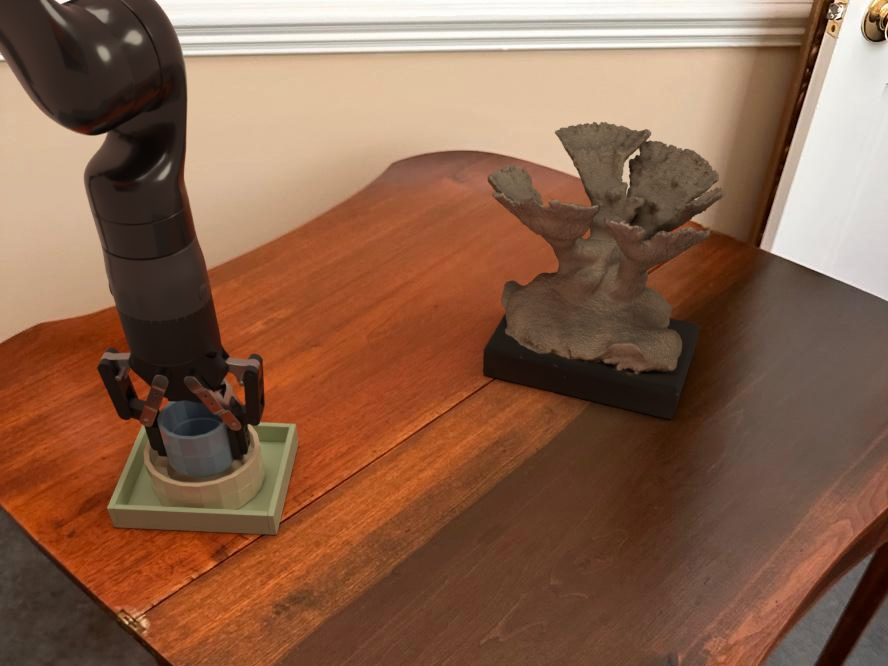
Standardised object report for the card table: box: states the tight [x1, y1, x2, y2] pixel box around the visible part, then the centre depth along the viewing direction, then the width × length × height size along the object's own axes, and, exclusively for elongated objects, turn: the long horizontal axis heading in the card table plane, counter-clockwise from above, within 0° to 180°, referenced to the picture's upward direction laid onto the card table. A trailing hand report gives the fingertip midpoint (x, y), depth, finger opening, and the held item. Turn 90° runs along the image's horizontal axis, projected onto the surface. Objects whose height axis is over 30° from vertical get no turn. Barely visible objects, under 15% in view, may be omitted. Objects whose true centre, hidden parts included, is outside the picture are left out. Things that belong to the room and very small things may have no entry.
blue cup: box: [157, 400, 235, 478], centre depth 81 cm, size 6×6×5 cm
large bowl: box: [144, 424, 265, 510], centre depth 83 cm, size 11×11×4 cm
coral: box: [482, 121, 725, 420], centre depth 93 cm, size 25×20×22 cm
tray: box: [106, 421, 299, 536], centre depth 84 cm, size 15×13×2 cm
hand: (202, 452), depth 82 cm, fingers closed on blue cup, 6 cm apart
